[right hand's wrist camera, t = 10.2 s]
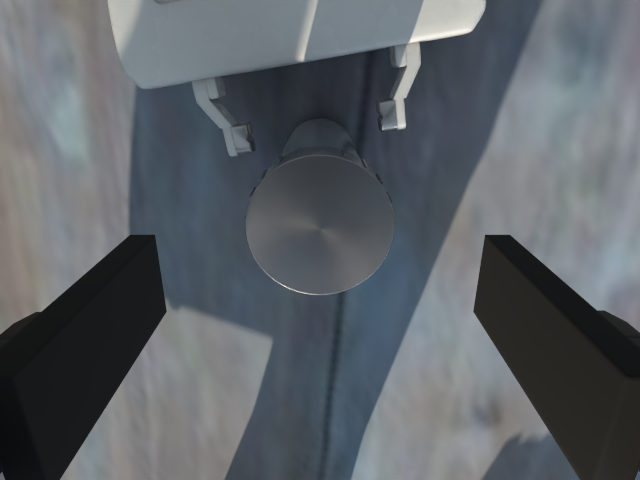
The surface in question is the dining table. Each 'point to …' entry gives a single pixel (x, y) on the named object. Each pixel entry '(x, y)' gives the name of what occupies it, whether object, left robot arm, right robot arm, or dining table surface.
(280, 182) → the lid
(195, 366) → the dining table surface
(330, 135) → the bottle
